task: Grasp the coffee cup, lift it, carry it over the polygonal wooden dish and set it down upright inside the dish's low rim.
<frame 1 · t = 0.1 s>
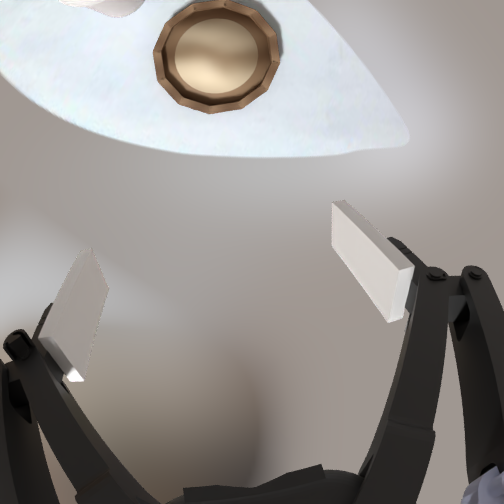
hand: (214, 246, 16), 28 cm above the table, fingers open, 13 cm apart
polygonal wooden dish: (216, 55, 34), on the table
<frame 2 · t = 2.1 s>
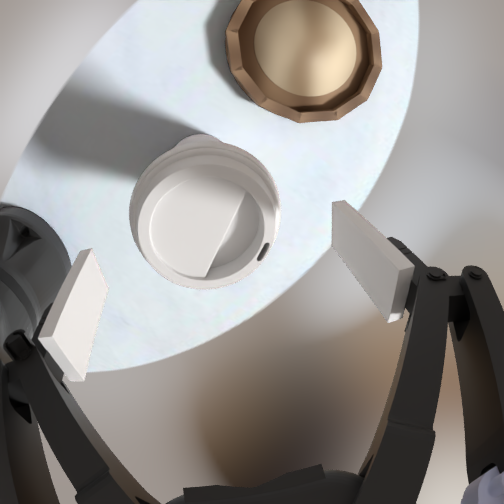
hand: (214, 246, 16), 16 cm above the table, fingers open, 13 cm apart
polygonal wooden dish: (305, 47, 25), on the table
coffee cup: (199, 164, 30), on the table
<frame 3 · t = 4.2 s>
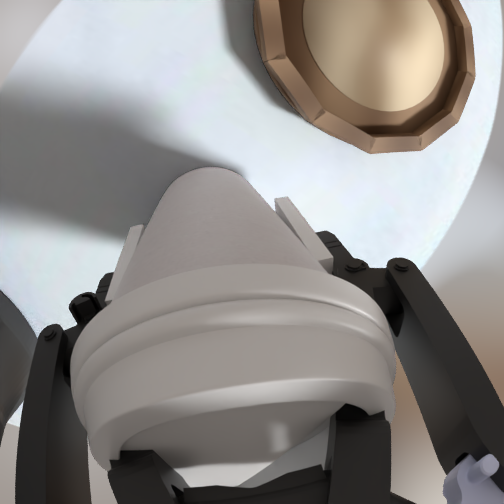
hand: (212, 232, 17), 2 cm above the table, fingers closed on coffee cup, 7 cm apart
polygonal wooden dish: (376, 33, 14), on the table
coffee cup: (209, 215, 19), on the table, touching gripper
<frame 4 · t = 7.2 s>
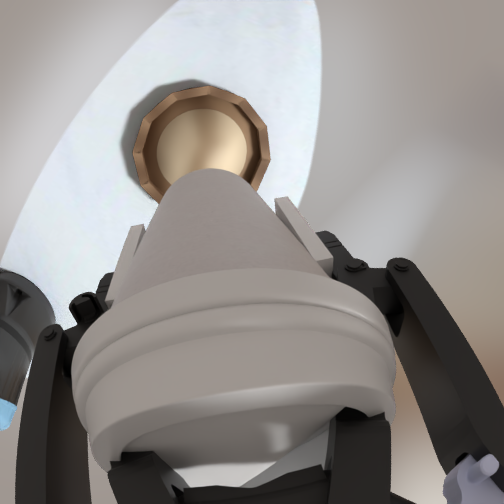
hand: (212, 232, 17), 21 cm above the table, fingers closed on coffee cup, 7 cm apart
polygonal wooden dish: (201, 151, 35), on the table
coffee cup: (209, 217, 19), point 19 cm above the table, touching gripper
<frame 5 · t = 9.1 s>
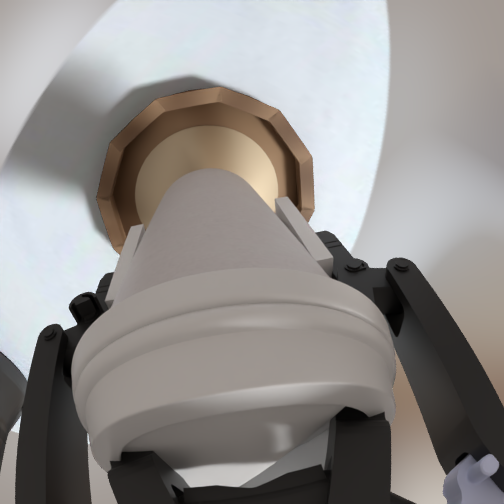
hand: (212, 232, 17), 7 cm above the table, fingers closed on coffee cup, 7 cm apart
polygonal wooden dish: (206, 193, 23), on the table
coffee cup: (209, 216, 19), point 4 cm above the table, touching gripper
when the fingers open (4 cm above the table, at t = 10.4 s): coffee cup stays where it is, resting on polygonal wooden dish.
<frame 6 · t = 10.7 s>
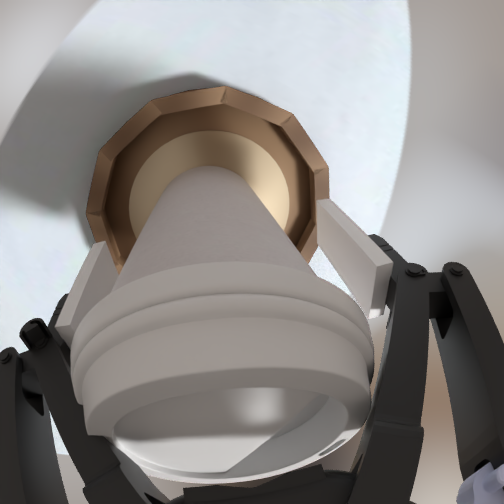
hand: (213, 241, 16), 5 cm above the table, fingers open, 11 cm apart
polygonal wooden dish: (209, 206, 21), on the table
coffee cup: (207, 212, 20), point 1 cm above the table, touching polygonal wooden dish
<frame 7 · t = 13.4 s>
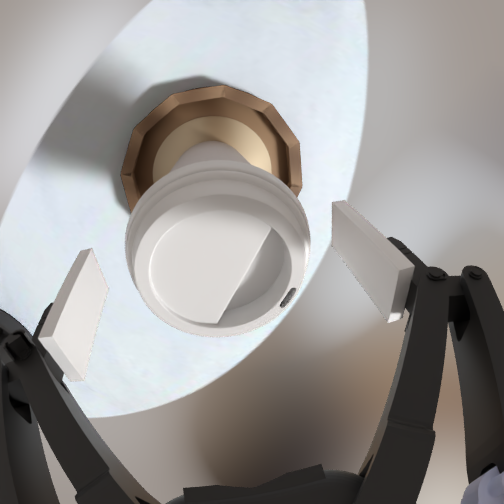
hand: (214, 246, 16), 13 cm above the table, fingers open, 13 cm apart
polygonal wooden dish: (212, 172, 27), on the table
coffee cup: (210, 175, 27), point 1 cm above the table, touching polygonal wooden dish
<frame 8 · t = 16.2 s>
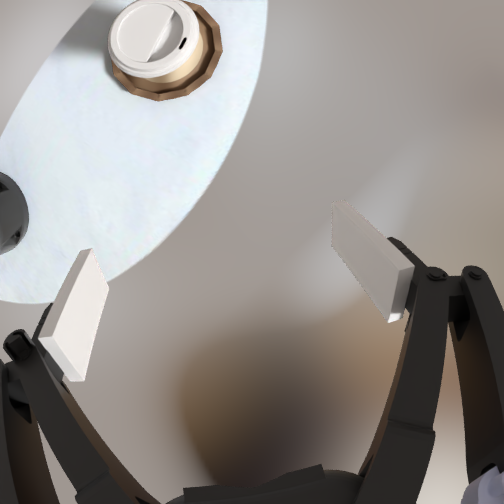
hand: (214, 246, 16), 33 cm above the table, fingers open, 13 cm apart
polygonal wooden dish: (166, 49, 35), on the table
coffee cup: (164, 49, 35), point 1 cm above the table, touching polygonal wooden dish
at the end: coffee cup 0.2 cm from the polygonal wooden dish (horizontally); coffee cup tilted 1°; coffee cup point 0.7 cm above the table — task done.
